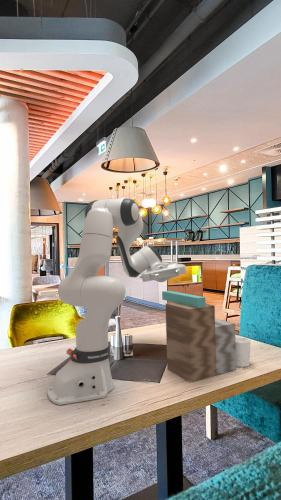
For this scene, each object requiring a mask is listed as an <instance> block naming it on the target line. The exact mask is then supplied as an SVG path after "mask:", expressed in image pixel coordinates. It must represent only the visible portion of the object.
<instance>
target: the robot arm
mask: <svg viewBox="0 0 281 500" xmlns="http://www.w3.org/2000/svg"><path fill="white" fill-rule="evenodd" d="M84 218H85V220H84V224H83V227H82V233H81V241H80V246H79V247H80V248H79V252H78V256H77V259H76V262H75V264H74V266H73V268H72V269H71V271H70V272H69V273H68V275H66V276H65V277H64V278H63V279H61V280H60V281H59V285H58V286H57V287H58V288H57V295H58V298H59V300H60V301H61V303H65V304H66V305H69V306H73V307H82V308H83V307H84V308H86V309H87V310H86V315H85V317H84V318H82V319H81V320H80V321H79V322H77V324H76V326H75V348H74V349H72V348H68V349H67V350H66V354H67V355H68V356H70V360H69V361H68V362H67V363H66V364H65V365H64V366H62V367H61V368H60V369H59V370H57V372H56V374H55V376H54V382H53V385H51V386H49V387H48V388H47V390H46V391H47V393H46V394H47V395H46V396H47V397H48V399H49V401H51V402H52V403H53V404H55V405H57V406H58V405H60V406H61V405H68V404H74V403H80V402H81V403H82V402H85V401H86V402H87V401H92V400H99V399H104V398H106V397H107V396H108V393H109V392H112V390H113V389H114V388H115V384H114V380H113V378H112V372H111V365H110V361H111V351H110V345H109V325H110V320H111V317H112V315H113V313H114V312H115V310H116V309H117V308H118V307H119V306H120V305H122V303H123V302H124V300H125V296H126V289H125V286H124V285H125V284H124V283H123V282H122V280H121V279H119V278H117V277H113V276H110V275H109V276H108V275H98V273H99V271H100V270H101V268H103V267H104V266H106V265H107V264H108V263H109V262H110V259H111V257H112V247H113V240H114V239H113V237H114V228H118V230H117V236H116V237H115V240H116V245H117V249H118V254H119V256H120V260H121V264H122V268H123V271H124V272H125V274H126V275H127V277H129V278H138V276H139V279H142V282H143V283H146V282H147V283H148V282H151V281H156V282H158V283H163V282H164V283H165V282H166V281H169V280H170V279H173V278H177V277H179V276H180V275H185V274H187V267H186V265H185V264H183V263H178V262H169V263H168V262H166V263H165V262H163V257H162V255H161V254H160V252H159V251H158V249H156V248H155V247H154V246H151V245H145V246H144V247H141V249H139V250H138V251H136V252H134V254H131V251H130V248H131V247H132V245H133V243H134V242H135V241H136V240H137V239H138V238H139V237H140V235H141V234H142V232H143V230H144V220H143V219H142V216H141V213H140V207H139V204H138V203H137V202H136V201H135V200H134V199H132V198H128V197H127V196H125V197H124V196H123V197H118V198H105V199H100V200H99V199H96V200H92V201H90V202H88V203H87V205H86V206H85V208H84ZM144 271H145V272H144Z"/></svg>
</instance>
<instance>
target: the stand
mask: <svg viewBox="0 0 281 500" xmlns="http://www.w3.org/2000/svg"><path fill="white" fill-rule="evenodd" d="M215 307H216V306H215V305H214V304H209V303H206V307H201V308H196V307H192V306H188V305H183V304H179V303H175V302H167V303H165V330H166V331H165V334H166V335H165V336H166V337H165V338H166V368H167V370H168V371H170V372H171V373H173V374H175V375H177V376H178V377H180V378H182V379H183V380H185V381H187V382H188V383H193V382H197V381H201V380H204V379H208V378H209V379H210V378H213V377H215V376H219V375H222V374H226V373H231V372H233V371H236V370H237V366H236V342H235V337H236V323H235V322H230V321H226V320H222V319H220V318H216V312H215V311H216V310H215Z"/></svg>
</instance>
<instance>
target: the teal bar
mask: <svg viewBox="0 0 281 500" xmlns="http://www.w3.org/2000/svg"><path fill="white" fill-rule="evenodd" d="M161 293H162V294H161V297H162V298H161V299H162V301H166V302H169V303H174V302H175V303H179V304H183V305H188V306H192V307H196V308H201V307H206V304H207V302H206V297H205V296H201V295H200V296H199V295H194V294H189V293H183V292H179V291H173V290H164V291H163V290H162V291H161Z"/></svg>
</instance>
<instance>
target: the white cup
mask: <svg viewBox="0 0 281 500" xmlns="http://www.w3.org/2000/svg"><path fill="white" fill-rule="evenodd" d="M235 342H236V367H238V368H239V367H240V368H246V367H247V368H248V367H249V366H250V365H251V364H250V363H251V362H250V361H251V359H250V358H251V339H250V338H247V337H242V336H235Z"/></svg>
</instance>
